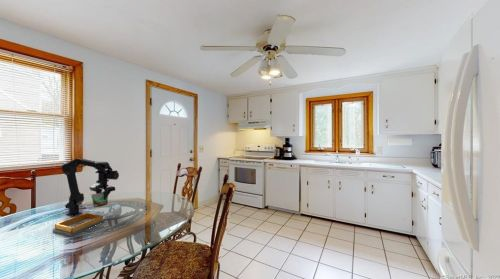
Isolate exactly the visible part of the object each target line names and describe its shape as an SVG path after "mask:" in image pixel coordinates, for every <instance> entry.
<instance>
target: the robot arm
mask: <svg viewBox="0 0 500 279" xmlns="http://www.w3.org/2000/svg"><path fill="white" fill-rule="evenodd" d="M80 165H82V166H87V167H91V168H94V169H95V170H96V171H95V174H98V176H97V178H98V179H97V180H96V181H95V183H93V184H90V185H89V191H91V192H92V191H93V192H95V194H98V193H102V192H103V193H104V200H106V198H107V197H108V198H109V195H110V194H111V193H112V192H115V191H116V187H115V186H110V185H109V184H108V182H109V181H110V180H113V181H114V180H115V181H116V180H118V179H119V176H120V174H119V172H118V170H114V169H113V168H112V166H111V165H110V164H109V162H108V161H94V160H91V159H86V158H82V157H79V158H78V157H77V158H75V159H73V160H71V161H69V162H67V163H63V164H62V165H61V171H62V172H63V174H64V175H66V179H67V183H68V188H69V194H70V195H69V197H68V202H67V203H66V204H64V207H65V209H68V210H67V213H65V215H66V216H68V217H75V216H78V215H81V214H82V212H81V211H80V205H82V203H83V202H84V200H85V195H84V193H81V192H80V189H79V185H78V181H77V180H78V179H77V175H76V173H77V171H78V170H77V169H78V167H80ZM103 190H104V191H103Z"/></svg>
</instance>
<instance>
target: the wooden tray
mask: <svg viewBox="0 0 500 279" xmlns="http://www.w3.org/2000/svg"><path fill="white" fill-rule="evenodd" d="M103 217H104V216H103V215H100V214H96V213H91V212H85V213H81V214H78V215H75V216H72V217H70V218H68V219H65V220H63V221H60V222H57V223H55V224H54V228H52V233H55V234H59V235H62V236H66V237H69V238H72V237H75V236H77V235H79V234H81V233H84V232H86V231H88V230H90V229H89V228H91V227H93V226H95V225H97V226H99V225H98V224H100V223H102V222H104V223H105V219H104V218H103ZM102 224H103V223H102ZM100 225H101V224H100ZM95 227H96V226H95ZM93 228H94V227H93ZM87 229H88V230H87ZM91 229H92V228H91ZM85 230H86V231H85ZM83 231H84V232H83ZM78 233H79V234H78ZM76 234H77V235H76ZM74 235H75V236H74Z"/></svg>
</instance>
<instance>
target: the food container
mask: <svg viewBox="0 0 500 279" xmlns="http://www.w3.org/2000/svg"><path fill="white" fill-rule="evenodd" d="M90 196H91V197H90V198H91V200H92V206H93V208H98V207H103V206H106V205H108V203H109V196H108V197H107V198H106V200H104V193H103V191H102V193H98V194H96V193H91V195H90Z"/></svg>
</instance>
